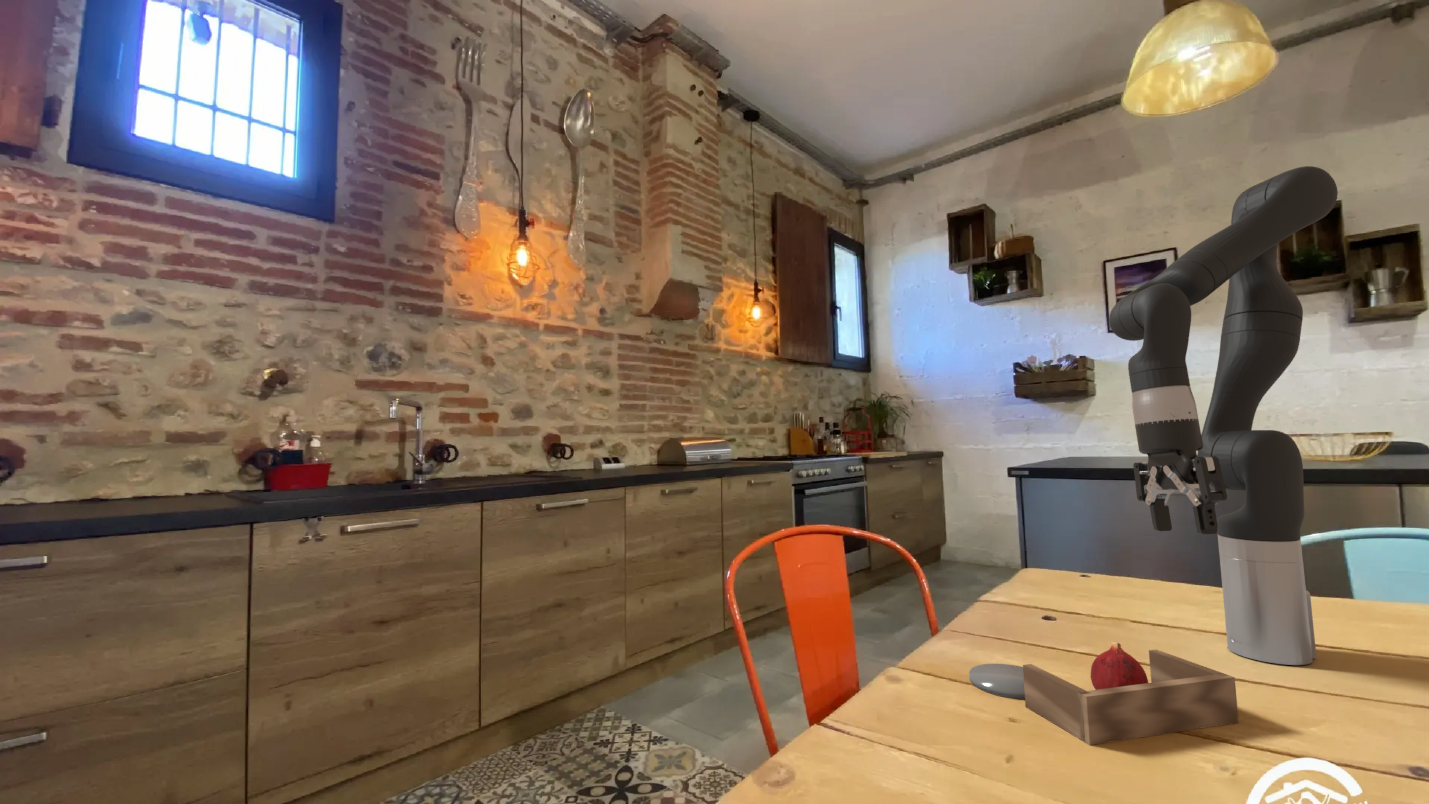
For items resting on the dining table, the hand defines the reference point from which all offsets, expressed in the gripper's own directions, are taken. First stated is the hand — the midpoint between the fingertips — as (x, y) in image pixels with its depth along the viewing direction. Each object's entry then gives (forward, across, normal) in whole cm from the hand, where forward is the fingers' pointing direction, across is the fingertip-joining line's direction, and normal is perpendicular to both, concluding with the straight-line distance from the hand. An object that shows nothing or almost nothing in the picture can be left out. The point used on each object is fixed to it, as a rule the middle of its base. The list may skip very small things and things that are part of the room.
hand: (1184, 532), depth 84 cm
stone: (+19, -3, +28) cm, 34 cm away
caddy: (+20, -12, +19) cm, 30 cm away
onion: (+20, -11, +19) cm, 30 cm away
